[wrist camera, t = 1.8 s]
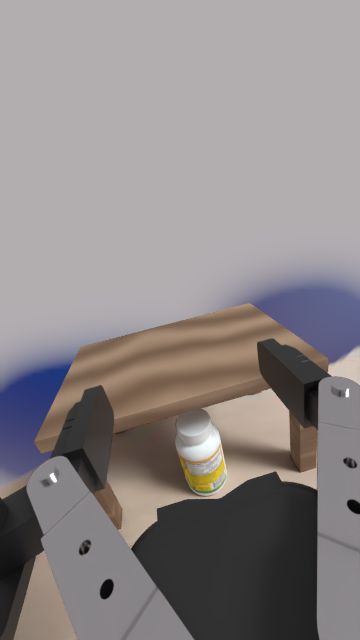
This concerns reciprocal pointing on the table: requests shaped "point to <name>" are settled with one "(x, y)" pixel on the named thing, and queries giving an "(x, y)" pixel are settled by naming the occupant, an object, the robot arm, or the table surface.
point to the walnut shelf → (178, 377)
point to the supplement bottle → (200, 452)
